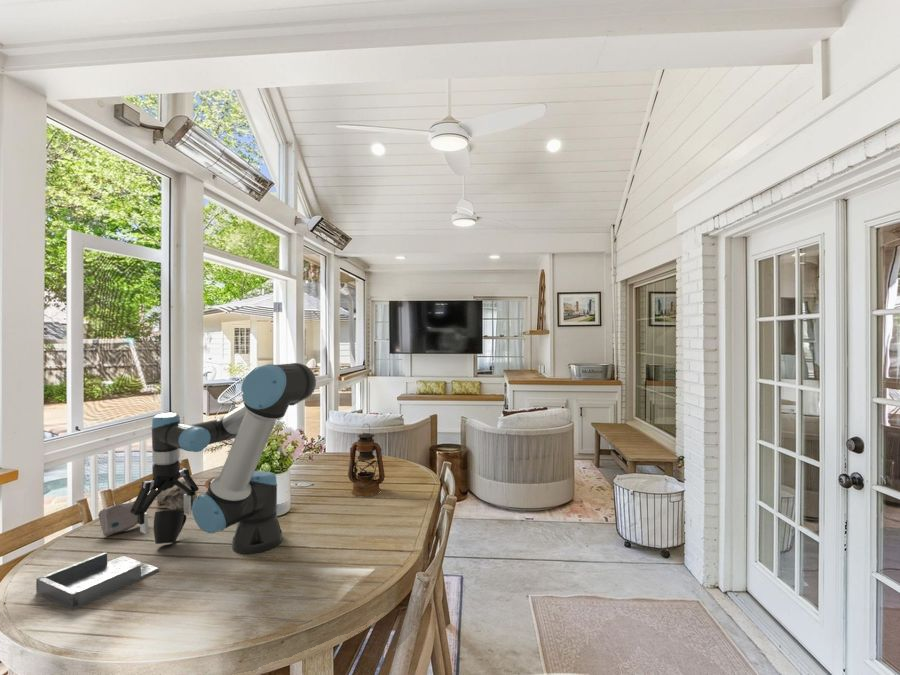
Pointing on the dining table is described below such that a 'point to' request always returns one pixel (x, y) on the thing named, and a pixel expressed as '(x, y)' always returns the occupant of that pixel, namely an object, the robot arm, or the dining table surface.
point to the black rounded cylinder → (168, 525)
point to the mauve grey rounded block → (117, 518)
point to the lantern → (366, 479)
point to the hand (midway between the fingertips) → (166, 523)
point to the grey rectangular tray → (91, 580)
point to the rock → (173, 497)
